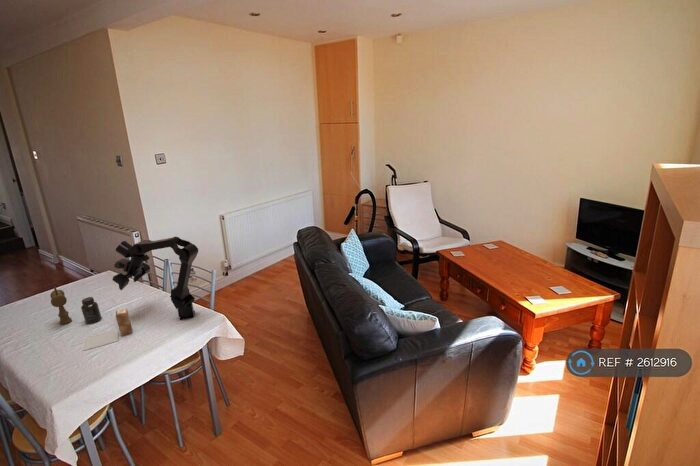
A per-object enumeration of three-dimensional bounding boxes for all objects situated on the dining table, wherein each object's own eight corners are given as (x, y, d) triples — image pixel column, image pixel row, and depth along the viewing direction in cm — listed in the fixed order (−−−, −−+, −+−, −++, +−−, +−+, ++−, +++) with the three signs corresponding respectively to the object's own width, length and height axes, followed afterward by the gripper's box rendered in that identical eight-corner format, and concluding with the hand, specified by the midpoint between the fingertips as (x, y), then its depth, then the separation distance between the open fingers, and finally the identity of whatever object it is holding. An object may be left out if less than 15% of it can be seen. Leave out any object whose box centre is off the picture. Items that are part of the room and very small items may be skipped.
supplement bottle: (105, 316, 186) (99, 295, 182) (94, 324, 179) (88, 302, 176) (92, 316, 187) (86, 295, 183) (82, 324, 180) (75, 302, 176)
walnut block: (132, 328, 175) (126, 308, 171) (132, 333, 171) (126, 312, 167) (121, 331, 173) (115, 310, 169) (121, 336, 169) (115, 315, 165)
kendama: (59, 328, 177) (47, 291, 170) (57, 320, 184) (45, 284, 177) (74, 323, 181) (62, 287, 174) (72, 316, 187) (61, 281, 181)
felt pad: (118, 328, 175) (118, 328, 175) (118, 341, 165) (117, 340, 165) (85, 337, 169) (85, 336, 169) (83, 351, 159) (83, 350, 159)
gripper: (136, 247, 188) (128, 269, 194) (107, 261, 171) (99, 285, 177) (154, 258, 188) (146, 280, 194) (126, 273, 171) (118, 297, 177)
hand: (127, 285), depth 186 cm, fingers open, 9 cm apart
